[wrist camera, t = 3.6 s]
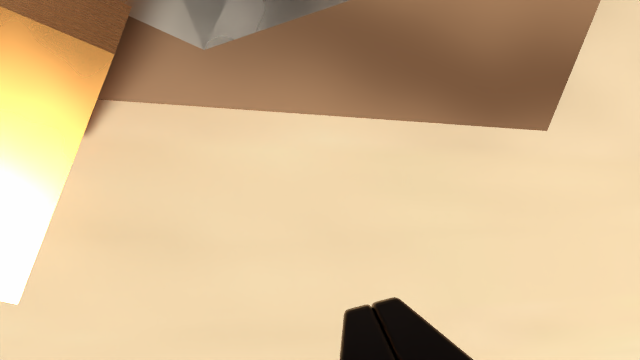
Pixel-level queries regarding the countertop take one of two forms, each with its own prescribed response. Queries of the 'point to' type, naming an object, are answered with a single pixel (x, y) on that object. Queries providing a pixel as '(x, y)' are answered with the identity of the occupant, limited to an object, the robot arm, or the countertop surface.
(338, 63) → the walnut board
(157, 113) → the countertop surface
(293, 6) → the flange plate
